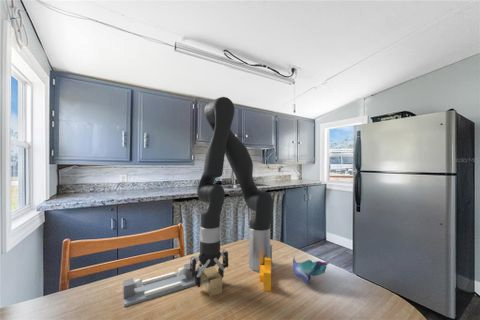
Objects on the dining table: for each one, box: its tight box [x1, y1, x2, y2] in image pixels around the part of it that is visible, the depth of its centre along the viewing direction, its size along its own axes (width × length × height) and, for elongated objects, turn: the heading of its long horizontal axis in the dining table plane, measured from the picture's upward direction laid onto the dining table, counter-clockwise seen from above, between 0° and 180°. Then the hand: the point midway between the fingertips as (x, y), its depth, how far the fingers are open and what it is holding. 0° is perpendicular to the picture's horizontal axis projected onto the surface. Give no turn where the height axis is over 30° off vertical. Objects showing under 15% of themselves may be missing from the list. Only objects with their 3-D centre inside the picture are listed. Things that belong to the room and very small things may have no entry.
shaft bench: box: [122, 263, 196, 308], centre depth 76 cm, size 24×10×5 cm, turn 121°
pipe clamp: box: [259, 257, 272, 292], centre depth 80 cm, size 12×4×6 cm, turn 171°
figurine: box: [292, 255, 332, 284], centre depth 80 cm, size 13×12×9 cm
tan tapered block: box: [200, 266, 223, 298], centre depth 76 cm, size 10×5×6 cm, turn 31°
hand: (209, 282), depth 76 cm, fingers open, 8 cm apart
